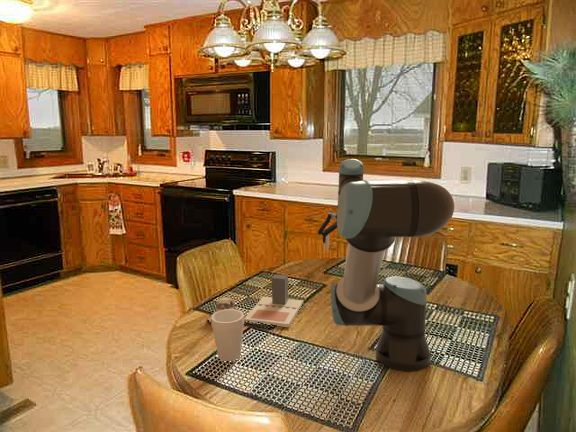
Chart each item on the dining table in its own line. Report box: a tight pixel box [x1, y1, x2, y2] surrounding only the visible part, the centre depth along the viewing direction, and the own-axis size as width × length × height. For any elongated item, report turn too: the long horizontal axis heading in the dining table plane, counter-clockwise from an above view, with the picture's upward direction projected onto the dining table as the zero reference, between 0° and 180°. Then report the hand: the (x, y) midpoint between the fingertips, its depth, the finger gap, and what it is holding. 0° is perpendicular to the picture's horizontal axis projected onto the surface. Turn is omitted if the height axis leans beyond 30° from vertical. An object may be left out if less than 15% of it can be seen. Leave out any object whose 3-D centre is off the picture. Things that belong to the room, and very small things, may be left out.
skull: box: [214, 297, 236, 313], centre depth 152 cm, size 12×10×10 cm
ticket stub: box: [256, 274, 304, 310], centre depth 162 cm, size 7×16×12 cm, turn 74°
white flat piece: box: [244, 303, 300, 328], centre depth 153 cm, size 13×16×2 cm
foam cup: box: [210, 308, 245, 361], centre depth 126 cm, size 10×9×13 cm
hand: (345, 252), depth 155 cm, fingers open, 13 cm apart
